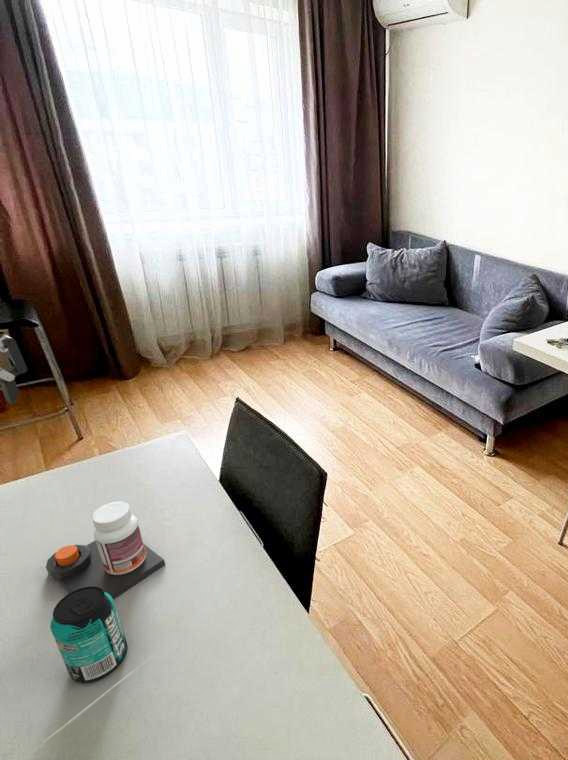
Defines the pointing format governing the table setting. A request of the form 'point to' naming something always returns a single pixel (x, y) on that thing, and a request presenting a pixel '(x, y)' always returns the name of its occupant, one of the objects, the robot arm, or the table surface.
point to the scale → (100, 571)
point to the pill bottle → (118, 538)
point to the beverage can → (88, 634)
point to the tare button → (67, 555)
